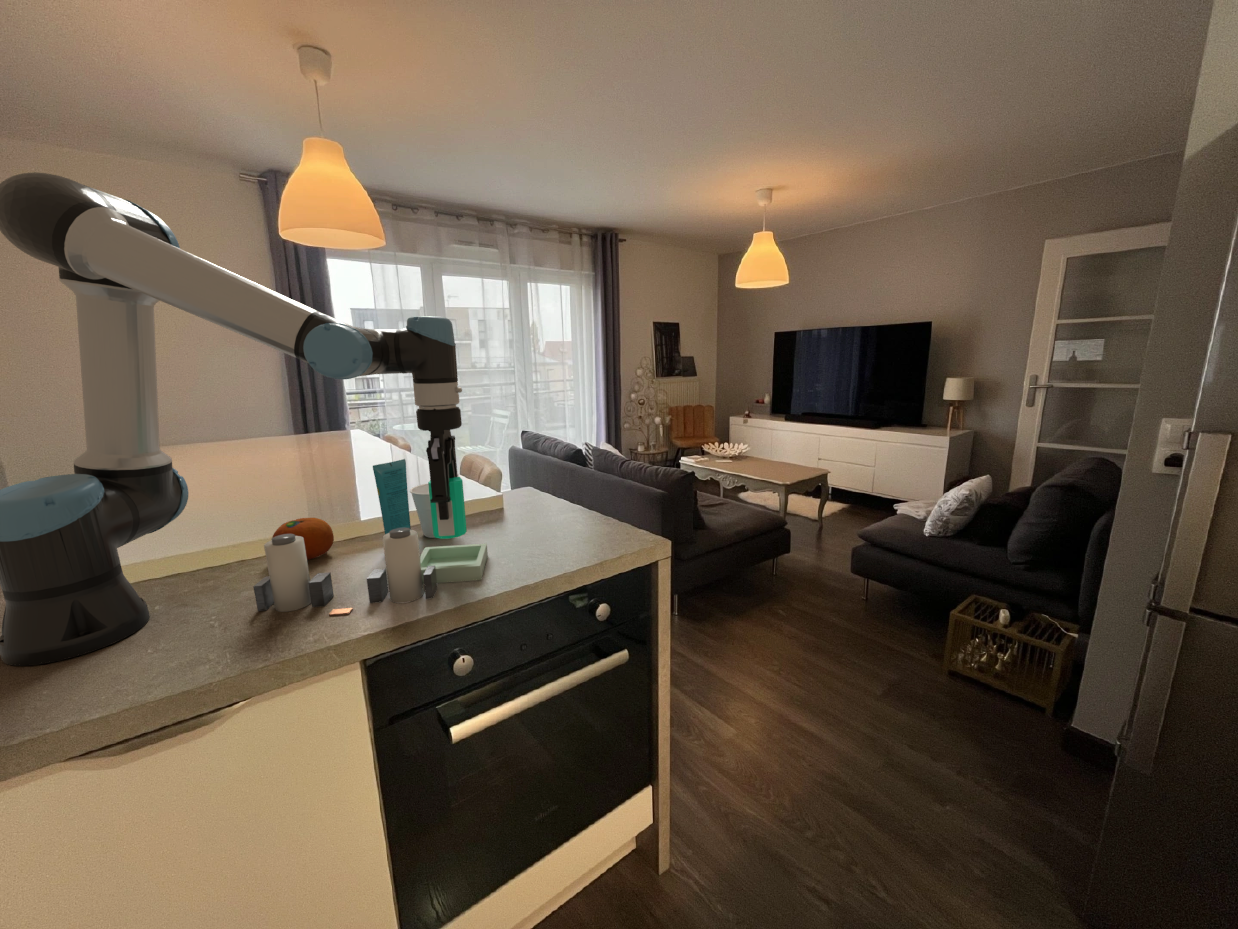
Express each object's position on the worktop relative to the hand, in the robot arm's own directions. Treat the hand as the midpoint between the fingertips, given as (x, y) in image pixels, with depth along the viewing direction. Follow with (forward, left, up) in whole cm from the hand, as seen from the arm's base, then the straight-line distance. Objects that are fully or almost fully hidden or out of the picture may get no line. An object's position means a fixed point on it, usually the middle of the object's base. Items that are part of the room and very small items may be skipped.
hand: (449, 529), depth 94 cm
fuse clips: (-15, -11, -8) cm, 21 cm away
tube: (-13, +12, -8) cm, 20 cm away
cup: (-7, +21, -8) cm, 24 cm away
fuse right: (-6, -10, -8) cm, 14 cm away
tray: (0, 0, -8) cm, 8 cm away
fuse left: (-24, -10, -8) cm, 27 cm away
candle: (0, 0, -1) cm, 1 cm away
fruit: (-31, +11, -8) cm, 34 cm away
